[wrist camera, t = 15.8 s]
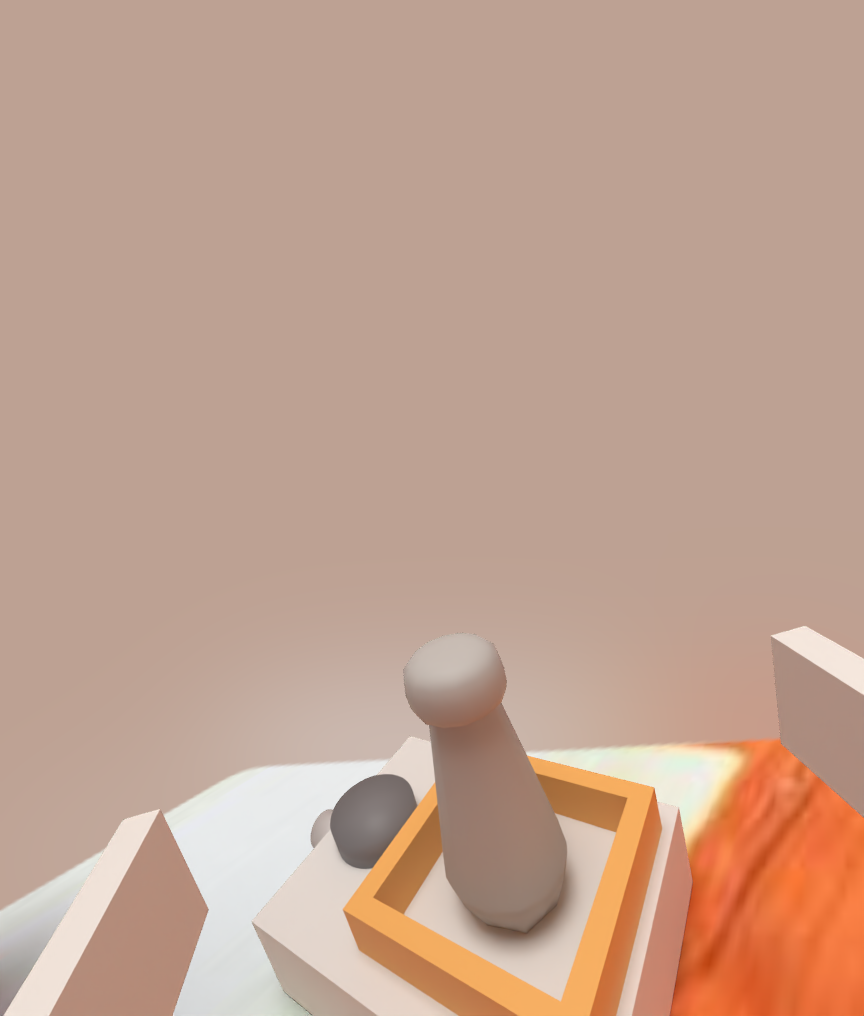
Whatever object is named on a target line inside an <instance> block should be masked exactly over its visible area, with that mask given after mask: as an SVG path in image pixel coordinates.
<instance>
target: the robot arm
mask: <svg viewBox="0 0 864 1016" xmlns="http://www.w3.org/2000/svg"><path fill="white" fill-rule="evenodd" d="M771 643H772V654H773V665H774V675H775V686H776V696H777V707H778V718H779V728H780V739H781V744H782V745H783V746H784V747H785V748H787V749H788V750H789V751H790V752H791V753H792V754H793V755H794V756H796V757H797V758H798V759H799V760H800V761H801V762H802V763H803V764H804V765H806V766H807V767H808V768H809V769H810V770H811V771H812V772H813V773H815V774H816V775H817V776H818V777H819V778H820V779H821V780H822V781H823V782H825V783H826V784H827V785H828V786H829V787H830V788H831V789H832V790H833V791H835V792H836V793H837V794H838V795H839V796H840V797H841V798H842V799H844V800H845V801H846V802H847V803H848V804H849V805H850V806H851V807H852V808H854V809H855V810H856V811H857V812H858V813H859V814H860V815H861V816H863V817H864V659H863V658H861V657H859V656H858V655H856V654H854V653H852V652H851V651H849V650H847V649H845V648H843V647H842V646H840V645H838V644H836V643H835V642H832V641H831V640H829V639H827V638H825V637H824V636H822V635H820V634H819V633H817V632H815V631H813V630H811V629H810V628H808V627H806V626H803V627H800V628H796V629H792V630H789V631H786V632H782V633H779V634H775V635H771ZM208 910H209V909H208V907H207V905H206V903H205V901H204V899H203V897H202V895H201V893H200V891H199V889H198V887H197V884H196V882H195V880H194V878H193V876H192V874H191V872H190V870H189V868H188V866H187V864H186V862H185V859H184V857H183V855H182V853H181V851H180V849H179V847H178V845H177V843H176V841H175V839H174V837H173V834H172V832H171V830H170V828H169V826H168V824H167V822H166V820H165V818H164V816H163V814H162V812H161V810H160V809H158V810H155V811H151V812H148V813H144V814H141V815H137V816H134V817H130V818H127V819H124V820H123V821H122V823H121V824H120V826H119V827H118V829H117V831H116V832H115V834H114V836H113V837H112V839H111V840H110V842H109V844H108V845H107V847H106V849H105V850H104V852H103V854H102V855H101V857H100V858H99V860H98V862H97V863H96V865H95V867H94V868H93V870H92V872H91V873H90V875H89V876H88V878H87V880H86V881H85V883H84V885H83V886H82V888H81V890H80V891H79V893H78V894H77V896H76V898H75V899H74V901H73V903H72V904H71V906H70V908H69V909H68V911H67V912H66V914H65V916H64V917H63V919H62V921H61V922H60V924H59V926H58V927H57V929H56V930H55V932H54V934H53V935H52V937H51V939H50V940H49V942H48V944H47V945H46V947H45V948H44V950H43V952H42V953H41V955H40V957H39V958H38V960H37V962H36V963H35V965H34V966H33V968H32V970H31V971H30V973H29V975H28V976H27V978H26V980H25V981H24V983H23V984H22V986H21V988H20V989H19V991H18V993H17V994H16V996H15V998H14V999H13V1001H12V1002H11V1004H10V1006H9V1007H8V1009H7V1011H6V1012H5V1014H4V1016H172V1015H173V1012H174V1009H175V1006H176V1003H177V1001H178V998H179V995H180V992H181V989H182V986H183V983H184V980H185V977H186V974H187V971H188V968H189V965H190V962H191V959H192V957H193V954H194V951H195V948H196V945H197V942H198V939H199V936H200V933H201V930H202V927H203V924H204V921H205V918H206V916H207V913H208Z"/></svg>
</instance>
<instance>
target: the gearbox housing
mask: <svg viewBox="0 0 864 1016" xmlns="http://www.w3.org/2000/svg"><path fill="white" fill-rule="evenodd" d="M527 757H528V759H529V761H530V763H531V765H532V767H533V769H534V771H535V773H536V775H537V777H538V780H539V782H540V784H541V786H542V788H543V790H544V792H545V794H546V796H547V798H548V800H549V802H550V804H551V806H552V808H553V810H554V813H555V815H556V817H557V819H558V821H559V824H560V827H561V829H562V832H563V835H564V837H565V840H566V843H567V859H566V867H565V875H564V881H563V884H562V888H561V892H560V896H559V900H558V904H557V906H556V907H555V908H554V909H553V910H551V911H550V912H549V913H548V914H547V915H546V916H545V917H544V918H543V919H542V920H541V921H540V922H539V923H538V924H536V925H535V926H534V927H533V928H532V929H531V930H530V931H529V932H528V933H522V932H517V931H512V930H507V929H503V928H498V927H493V926H488V925H487V924H485V923H484V922H483V921H482V920H480V919H479V918H478V917H477V916H475V915H474V914H473V913H472V912H470V911H469V910H468V909H467V908H466V907H465V906H464V905H463V903H462V902H461V900H460V899H459V897H458V896H457V894H456V893H455V891H454V890H453V888H452V887H451V885H450V883H449V882H448V880H447V878H446V873H445V866H444V858H443V850H442V840H441V831H440V822H439V812H438V803H437V794H436V784H435V775H434V766H433V756H432V747H431V742H430V741H426V740H423V739H419V738H415V737H409V738H408V739H407V741H406V742H405V743H404V744H403V745H402V746H401V747H400V749H399V750H398V751H397V752H396V753H395V754H394V756H393V757H392V758H391V759H390V760H389V761H388V763H387V764H386V765H385V766H384V767H383V768H382V770H381V771H380V772H379V773H378V774H377V775H376V776H372V777H369V778H367V779H364V780H363V781H361V782H359V783H357V784H356V785H354V786H353V787H352V788H350V789H349V790H348V791H347V792H346V793H345V794H344V795H343V796H342V797H341V798H340V800H339V801H338V802H337V804H336V806H335V808H334V810H326V811H324V812H322V813H321V814H320V815H319V816H318V818H317V819H316V821H315V823H314V825H313V827H312V831H311V844H312V846H313V848H314V849H313V850H312V851H311V853H310V854H309V855H308V856H307V857H306V858H305V860H304V861H303V862H302V863H301V864H300V866H299V867H298V868H297V869H296V870H295V871H294V873H293V874H292V875H291V876H290V877H289V878H288V880H287V881H286V882H285V883H284V884H283V885H282V887H281V888H280V889H279V890H278V891H277V892H276V894H275V895H274V896H273V897H272V898H271V899H270V901H269V902H268V903H267V904H266V905H265V906H264V908H263V909H262V910H261V911H260V912H259V913H258V915H257V916H256V917H255V918H254V919H253V920H252V924H253V926H254V928H255V930H256V932H257V934H258V937H259V939H260V941H261V943H262V945H263V948H264V950H265V952H266V954H267V956H268V958H269V961H270V963H271V965H272V967H273V969H274V971H275V974H276V976H277V978H278V980H279V982H280V985H281V987H282V989H283V991H284V992H285V993H286V994H288V995H289V996H290V997H291V998H292V999H294V1000H295V1001H296V1002H297V1003H298V1004H300V1005H301V1006H302V1007H303V1008H304V1009H306V1010H307V1011H308V1012H309V1013H310V1014H312V1015H313V1016H670V1011H671V1005H672V999H673V994H674V988H675V982H676V976H677V971H678V965H679V959H680V953H681V948H682V942H683V936H684V930H685V924H686V919H687V913H688V907H689V901H690V896H691V890H692V884H693V881H692V875H691V870H690V865H689V859H688V854H687V849H686V843H685V838H684V833H683V827H682V822H681V817H680V811H679V807H676V806H672V805H668V804H664V803H660V802H657V799H656V794H655V789H654V787H650V786H646V785H642V784H638V783H634V782H630V781H626V780H622V779H618V778H614V777H610V776H606V775H602V774H598V773H594V772H590V771H586V770H582V769H578V768H574V767H570V766H566V765H562V764H558V763H554V762H550V761H546V760H542V759H538V758H534V757H530V756H527Z"/></svg>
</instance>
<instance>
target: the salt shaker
mask: <svg viewBox="0 0 864 1016" xmlns="http://www.w3.org/2000/svg"><path fill="white" fill-rule="evenodd" d="M403 671H404V685H405V693H406V698H407V700H408V702H409V705H410V707H411V709H412V710H413V712H414V713H415V714H416V715H417V716H418V717H419V718H420V719H421V720H422V721H423V722H424V723H425V724H427V725H429V728H430V737H431V747H432V756H433V766H434V775H435V784H436V794H437V803H438V812H439V822H440V831H441V840H442V850H443V858H444V866H445V873H446V878H447V880H448V882H449V883H450V885H451V887H452V888H453V890H454V891H455V893H456V894H457V896H458V897H459V899H460V900H461V902H462V903H463V905H464V906H465V907H466V908H467V909H468V910H469V911H470V912H472V913H473V914H474V915H475V916H477V917H478V918H479V919H480V920H482V921H483V922H484V923H485V924H487V925H488V926H493V927H498V928H503V929H507V930H512V931H517V932H522V933H528V932H529V931H530V930H531V929H532V928H533V927H534V926H535V925H536V924H538V923H539V922H540V921H541V920H542V919H543V918H544V917H545V916H546V915H547V914H548V913H549V912H550V911H551V910H553V909H554V908H555V907H556V906H557V904H558V900H559V896H560V892H561V888H562V884H563V881H564V875H565V867H566V859H567V843H566V840H565V837H564V835H563V832H562V829H561V827H560V824H559V821H558V819H557V817H556V815H555V813H554V810H553V808H552V806H551V804H550V802H549V800H548V798H547V796H546V794H545V792H544V790H543V788H542V786H541V784H540V782H539V780H538V777H537V775H536V773H535V771H534V769H533V767H532V765H531V763H530V761H529V759H528V757H527V755H526V753H525V751H524V749H523V747H522V744H521V742H520V740H519V738H518V736H517V734H516V732H515V730H514V728H513V726H512V724H511V722H510V720H509V718H508V716H507V714H506V712H505V710H504V707H503V705H502V703H501V702H502V699H503V696H504V693H505V690H506V683H507V680H506V676H505V671H504V667H503V664H502V662H501V659H500V656H499V654H498V652H497V650H496V648H495V646H494V644H493V643H491V642H489V641H487V640H485V639H483V638H481V637H479V636H477V635H475V634H467V633H457V634H451V635H446V636H443V637H440V638H437V639H435V640H432V641H430V642H428V643H426V644H425V645H423V646H422V647H421V648H419V649H418V650H417V651H416V652H415V653H414V655H413V656H412V657H411V659H410V661H409V662H408V663H407V665H406V666H405V668H404V669H403Z"/></svg>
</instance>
